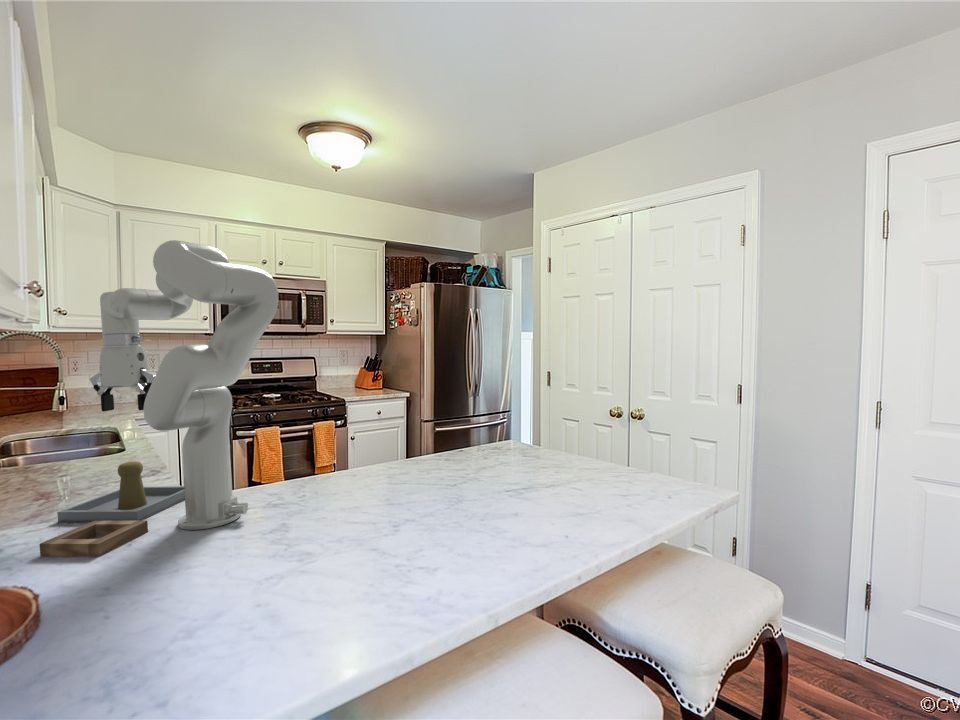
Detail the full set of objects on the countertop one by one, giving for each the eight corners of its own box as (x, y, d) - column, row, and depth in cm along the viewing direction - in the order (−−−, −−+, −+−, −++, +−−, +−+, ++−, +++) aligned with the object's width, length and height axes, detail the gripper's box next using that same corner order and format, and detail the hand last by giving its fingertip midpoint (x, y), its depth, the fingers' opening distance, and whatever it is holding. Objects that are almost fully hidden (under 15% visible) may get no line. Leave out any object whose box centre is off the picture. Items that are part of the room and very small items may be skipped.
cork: (131, 510, 122) (128, 465, 121) (111, 509, 123) (108, 465, 123) (153, 502, 127) (150, 459, 127) (134, 501, 129) (131, 459, 128)
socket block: (148, 531, 108) (147, 520, 108) (99, 556, 96) (98, 543, 96) (95, 531, 109) (94, 520, 109) (40, 556, 97) (39, 543, 97)
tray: (195, 495, 134) (194, 486, 134) (137, 522, 115) (137, 511, 114) (126, 495, 136) (125, 486, 136) (58, 522, 116) (57, 511, 116)
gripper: (165, 340, 127) (169, 407, 128) (101, 343, 129) (106, 409, 130) (142, 340, 120) (147, 411, 121) (76, 343, 121) (80, 413, 122)
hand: (126, 410), depth 125 cm, fingers open, 9 cm apart
